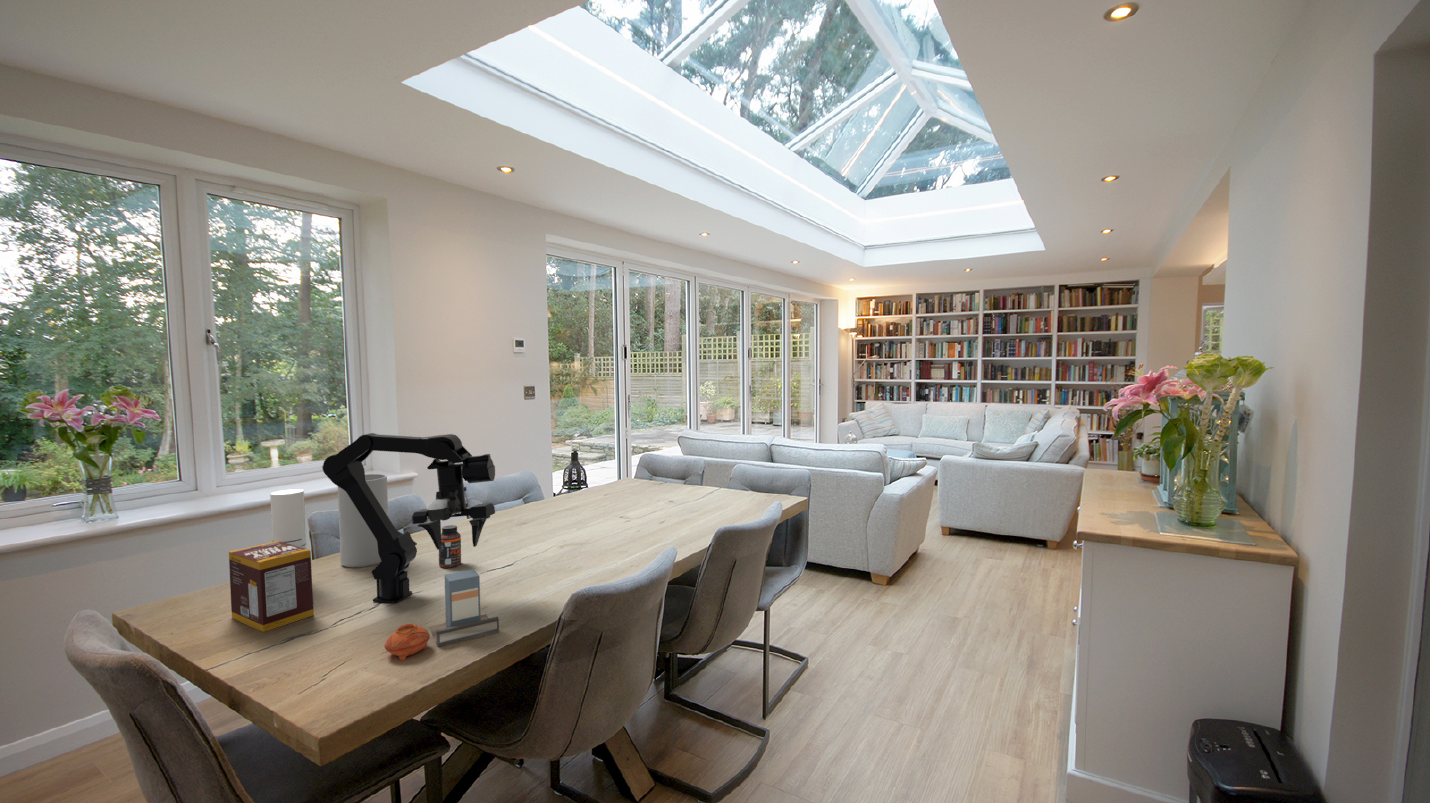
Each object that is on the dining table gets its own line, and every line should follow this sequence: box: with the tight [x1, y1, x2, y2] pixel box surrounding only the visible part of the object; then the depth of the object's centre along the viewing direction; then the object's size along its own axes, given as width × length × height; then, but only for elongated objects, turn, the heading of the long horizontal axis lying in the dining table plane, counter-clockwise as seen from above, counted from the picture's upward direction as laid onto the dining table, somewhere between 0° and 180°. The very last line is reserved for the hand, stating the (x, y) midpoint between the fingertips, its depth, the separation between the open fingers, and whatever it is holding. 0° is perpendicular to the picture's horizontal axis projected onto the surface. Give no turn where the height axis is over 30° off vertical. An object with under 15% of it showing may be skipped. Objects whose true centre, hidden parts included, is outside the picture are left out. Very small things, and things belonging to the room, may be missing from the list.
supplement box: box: [228, 541, 315, 633], centre depth 138 cm, size 10×15×16 cm
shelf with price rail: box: [428, 613, 500, 648], centre depth 129 cm, size 11×12×4 cm
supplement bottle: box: [438, 524, 462, 569], centre depth 174 cm, size 6×6×11 cm
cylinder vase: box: [337, 473, 389, 568], centre depth 177 cm, size 12×12×25 cm
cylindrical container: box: [269, 488, 307, 549], centre depth 157 cm, size 7×7×25 cm
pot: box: [384, 623, 431, 661], centre depth 119 cm, size 8×8×7 cm
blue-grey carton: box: [444, 568, 481, 628], centre depth 128 cm, size 5×6×12 cm
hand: (457, 547), depth 149 cm, fingers open, 9 cm apart
